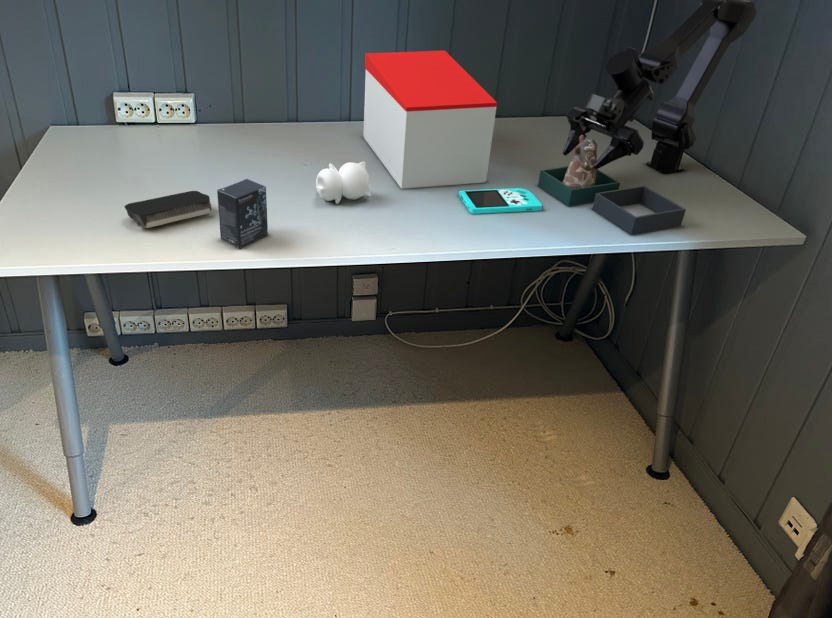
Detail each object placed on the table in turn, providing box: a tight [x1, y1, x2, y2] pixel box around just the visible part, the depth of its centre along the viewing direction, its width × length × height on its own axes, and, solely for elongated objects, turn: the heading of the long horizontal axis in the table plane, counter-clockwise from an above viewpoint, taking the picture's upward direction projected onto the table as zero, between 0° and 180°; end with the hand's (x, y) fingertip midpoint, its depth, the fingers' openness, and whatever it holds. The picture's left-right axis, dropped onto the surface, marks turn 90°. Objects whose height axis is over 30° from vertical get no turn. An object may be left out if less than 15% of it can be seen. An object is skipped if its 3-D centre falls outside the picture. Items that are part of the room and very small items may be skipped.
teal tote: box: [537, 165, 621, 207], centre depth 165 cm, size 13×12×4 cm
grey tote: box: [591, 185, 687, 236], centre depth 155 cm, size 13×13×4 cm
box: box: [216, 178, 269, 249], centre depth 141 cm, size 8×6×11 cm
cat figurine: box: [315, 160, 372, 205], centre depth 160 cm, size 9×11×12 cm
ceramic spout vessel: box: [563, 135, 598, 189], centre depth 163 cm, size 7×7×12 cm
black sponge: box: [123, 190, 213, 229], centre depth 150 cm, size 16×8×4 cm, turn 123°
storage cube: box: [362, 50, 498, 190], centre depth 175 cm, size 21×35×21 cm, turn 14°
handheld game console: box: [458, 187, 543, 215], centre depth 160 cm, size 10×16×1 cm, turn 99°
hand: (578, 161), depth 162 cm, fingers open, 9 cm apart
